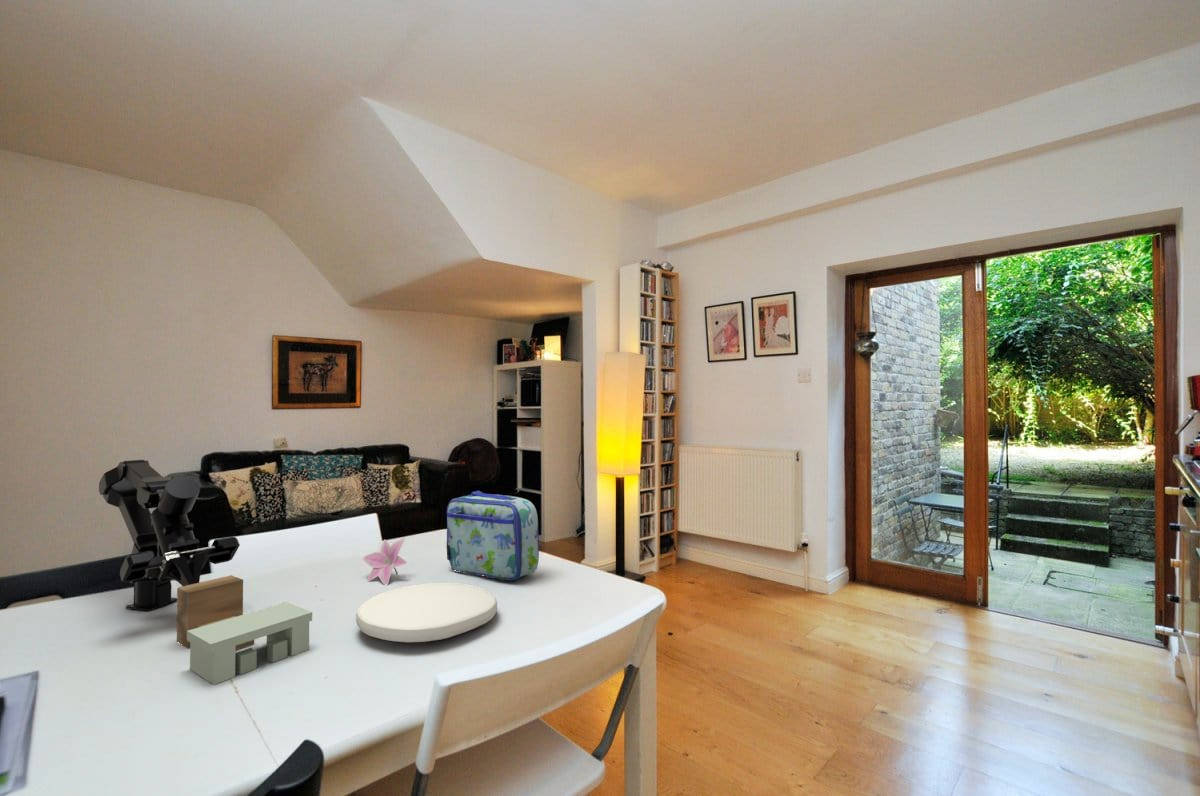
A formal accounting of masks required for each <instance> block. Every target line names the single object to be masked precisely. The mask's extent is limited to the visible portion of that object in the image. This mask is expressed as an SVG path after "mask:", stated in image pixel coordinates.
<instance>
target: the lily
mask: <svg viewBox="0 0 1200 796" xmlns="http://www.w3.org/2000/svg"><path fill="white" fill-rule="evenodd" d="M405 540H406V538H405V537H403V538H401V539H399V540H396V541H395V542H394V543H392V544H391V545H390V543H389V542H388V541H387V540H386V539H383V541H382V543H381V545H380V550H379V551H375V552H371V553H369V554H366V555H364V556H363V557H362V560H363V562H364V563H365V564H367V565H368V566H369V567H371V568H372V570H371V571H370V573H369V574H368V577H367V580H366V582H370V581H372V580H374V579H376V578H377V577H379V579H380V581H381V582H382V584H383V585H384V584H387V585H386V586H388V584H389V582H390V577H391V575H392V573H393V570H394V572H395V574H396V575H398V571H397V568H398V567H402V566H405V565H407V564H408V563H407V561H406V559H404V558H403V557H401V556H399V553H400V551H401V549H402V547H403V545H404V543H405Z"/></svg>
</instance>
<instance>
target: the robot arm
mask: <svg viewBox="0 0 1200 796" xmlns="http://www.w3.org/2000/svg"><path fill="white" fill-rule="evenodd" d="M200 491H201V485H200V483H199V482H198V481H196V480H195V479H192V478H190V477H186V476H185V473H176V474H175V473H173V474H172V475H171V476H163V475H161V473H159V472H158V471H157V470H155V469H154V468H153V467H152V466H151V465H150V463H149V460H145V459H132V460H123V461H120V462H119V463H118V465H117V466H116V467H113V468H112V469H110V470H108V471H106V472H104V473H103V475H102V477H101V478H100V480H99V482H98V492H99V495H100V496H102V497H103V499H104V500H105V502H106V504H108V505H111V506H113V507H117V508H118V510H119V511H120V515H121V516H122V518H123V520H124V523H125V525H126V528H127V530H128V533H129V535H130V538H131V539H132V541H133V545H132V550H131V553H129V554H128V555H127V556H126V557H125V558H124V560H123V563H122V566H121V567H120V570H119V576H120V577H119V578H120V580H121V582H122V583H125V584H127V583H130V584H133V603H131V604H127V605H126V606H125V608H126V609H128V608H131V609H130V610H136V609H138V610H139V611H146V612H147V611H152V610H155V609H158V608H161V607H164V606H166V605H168V604H172V603H175V602H177V597H172V582H171V581H172V580H175V581H176V582H177V583H178V584H179V585H180V586H181V587H182V586H187V585H191V584H196V583H200V579H201V573H202V569H204V567H205V565H206V563H207V562H208V561H209V562H210V563H211V564H213V565H217V564H222V563H227V562H230V561H232V560H233V558H234V557H235V555H236V553H237V551H238V549H239V547H240V542H239V540H238V538H237V537H236V536H233V535H232V536H225V537H221V538H215V539H213V542H212V544H211V546H207V547H202V548H201V547H200V548H199V544H200V543H201V542H200V539H199V538H196V537H195V535H194V531H193V530H194V528H195V526H194V523H193V522H190V520H189V518H188V513H189V512H191V511H192V509H193V506H194V505H195V502H196V500H197V498H198V496H199V494H200ZM150 509H154V510H152V512H151V511H150Z"/></svg>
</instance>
